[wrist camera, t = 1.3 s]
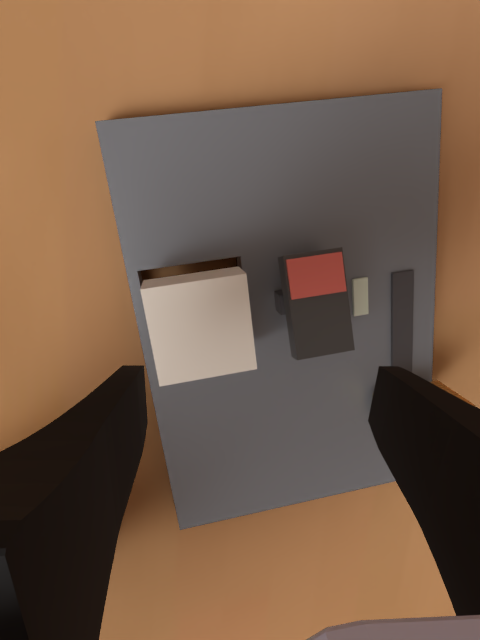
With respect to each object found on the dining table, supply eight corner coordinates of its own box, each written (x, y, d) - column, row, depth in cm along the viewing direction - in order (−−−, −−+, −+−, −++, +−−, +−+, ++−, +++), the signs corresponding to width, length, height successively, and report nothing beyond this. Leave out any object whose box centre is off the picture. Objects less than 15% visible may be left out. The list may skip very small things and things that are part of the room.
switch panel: (179, 511, 25) (180, 543, 22) (101, 127, 18) (90, 116, 16) (414, 459, 27) (438, 484, 24) (422, 96, 20) (456, 82, 18)
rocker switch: (291, 356, 19) (298, 361, 18) (277, 257, 19) (283, 255, 17) (346, 346, 19) (356, 350, 18) (334, 249, 19) (343, 246, 18)
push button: (160, 368, 19) (159, 386, 17) (143, 280, 18) (139, 289, 16) (248, 353, 20) (257, 369, 18) (238, 266, 18) (246, 273, 16)
